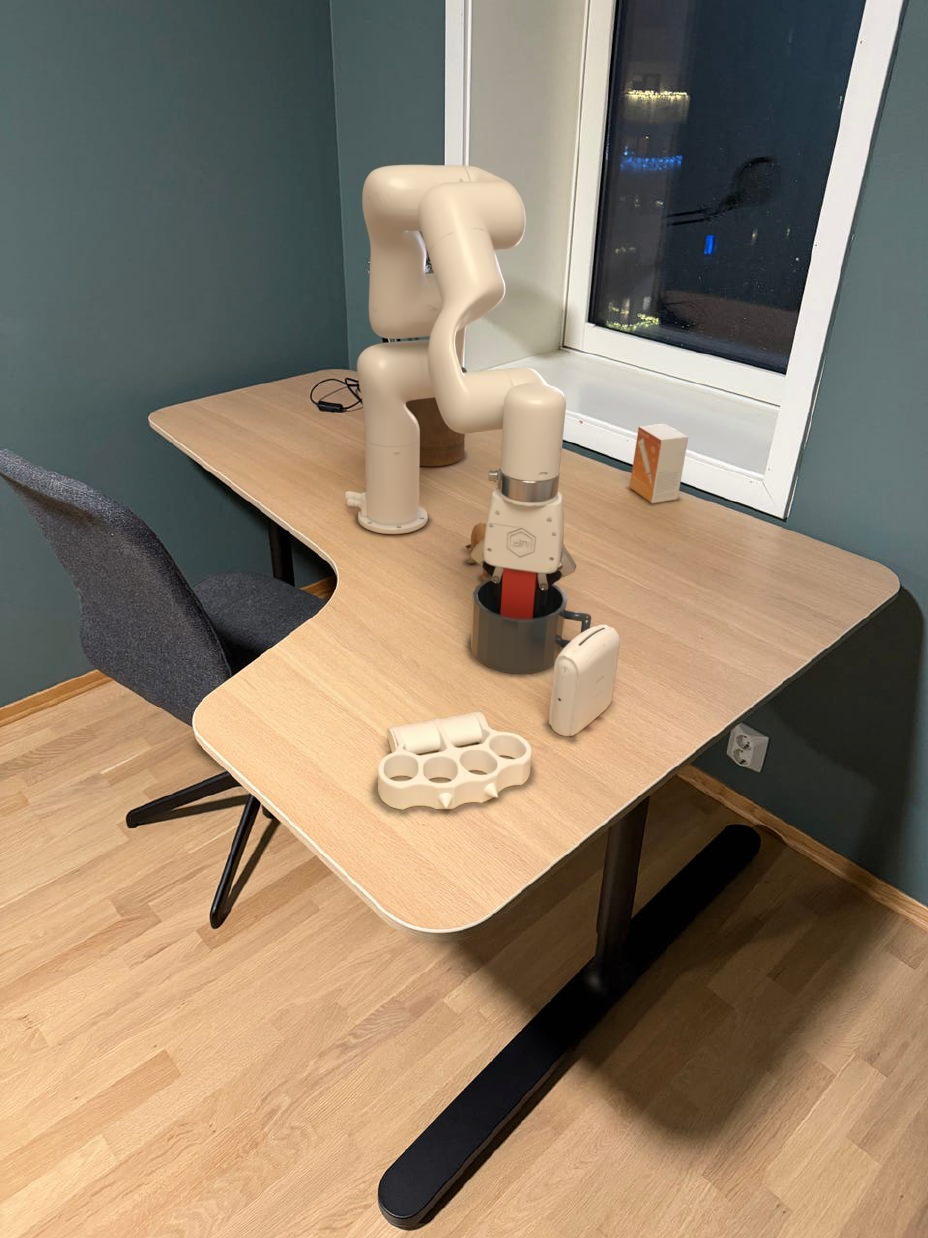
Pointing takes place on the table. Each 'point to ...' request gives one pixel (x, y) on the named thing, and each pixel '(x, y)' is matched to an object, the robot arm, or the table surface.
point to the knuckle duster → (451, 762)
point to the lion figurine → (476, 538)
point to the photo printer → (584, 679)
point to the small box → (658, 462)
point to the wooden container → (436, 434)
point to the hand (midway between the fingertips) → (519, 606)
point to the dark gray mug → (520, 632)
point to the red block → (518, 593)
